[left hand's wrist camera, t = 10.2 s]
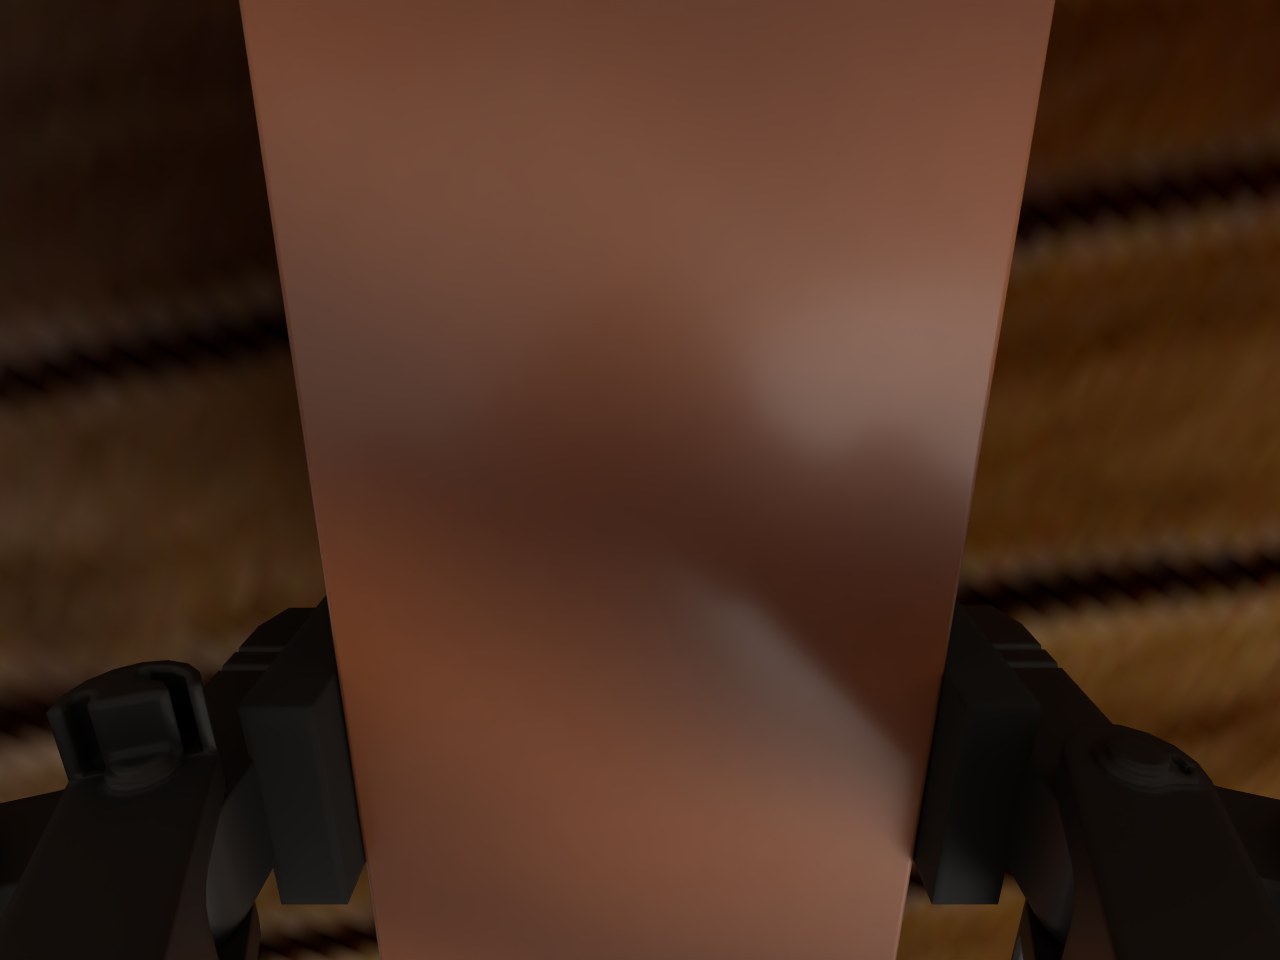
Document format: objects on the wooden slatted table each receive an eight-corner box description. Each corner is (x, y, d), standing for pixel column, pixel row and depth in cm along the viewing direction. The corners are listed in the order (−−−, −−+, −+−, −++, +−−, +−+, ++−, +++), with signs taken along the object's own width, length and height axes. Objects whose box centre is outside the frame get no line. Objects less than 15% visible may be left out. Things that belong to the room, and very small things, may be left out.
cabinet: (447, -172, 13) (106, -873, 4) (839, -168, 13) (1201, -856, 5) (501, 683, 18) (392, 1059, 10) (773, 685, 18) (881, 1060, 10)
